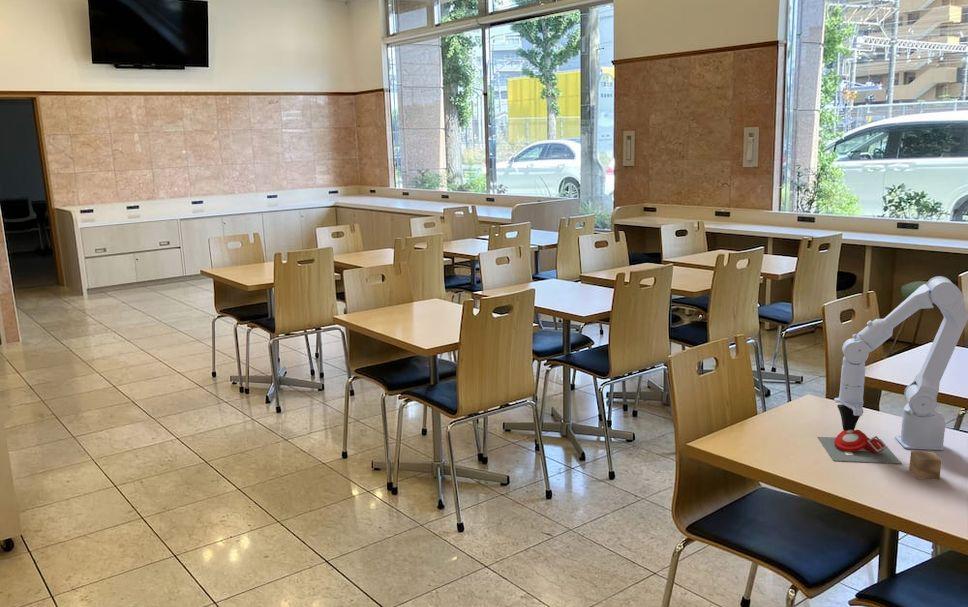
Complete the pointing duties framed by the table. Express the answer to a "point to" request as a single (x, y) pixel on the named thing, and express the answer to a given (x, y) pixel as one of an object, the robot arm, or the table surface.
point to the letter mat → (858, 453)
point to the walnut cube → (925, 465)
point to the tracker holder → (858, 442)
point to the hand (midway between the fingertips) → (848, 432)
